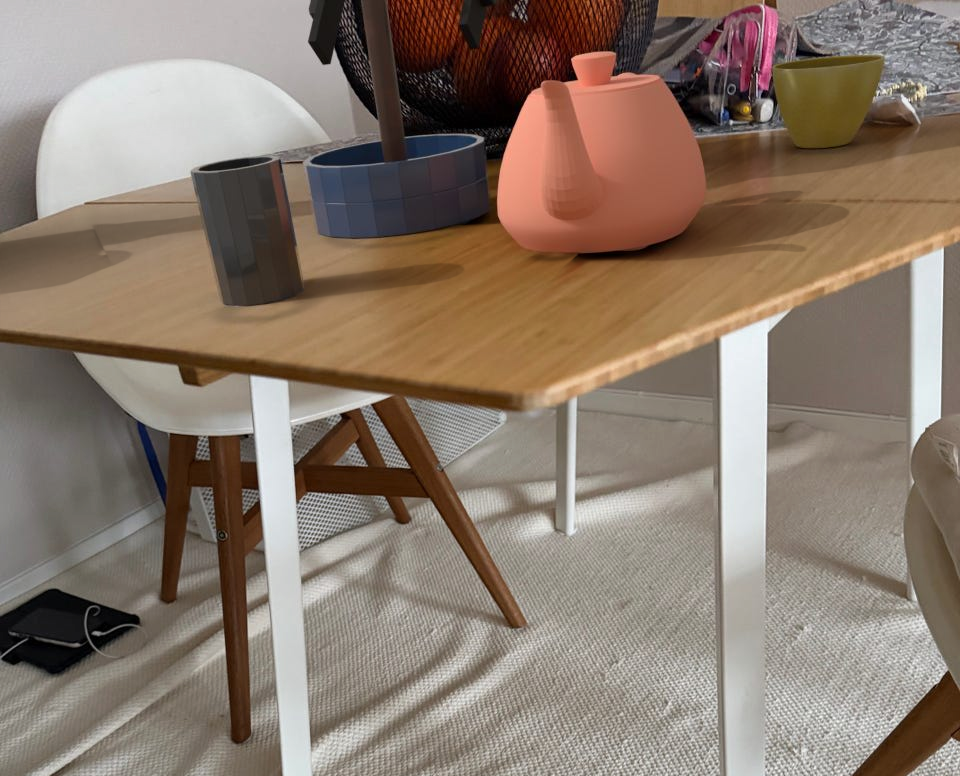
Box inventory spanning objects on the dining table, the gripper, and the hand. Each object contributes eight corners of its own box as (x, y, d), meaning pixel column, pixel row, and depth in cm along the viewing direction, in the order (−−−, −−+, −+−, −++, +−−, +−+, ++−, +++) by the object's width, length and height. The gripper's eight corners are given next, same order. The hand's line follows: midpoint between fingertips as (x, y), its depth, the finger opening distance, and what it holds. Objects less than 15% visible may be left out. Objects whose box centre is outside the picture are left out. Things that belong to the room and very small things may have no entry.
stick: (388, 220, 94) (348, -54, 83) (398, 214, 95) (360, -55, 85) (409, 219, 93) (371, -57, 83) (418, 214, 95) (383, -58, 84)
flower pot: (869, 131, 109) (875, 50, 105) (887, 147, 101) (894, 59, 97) (765, 141, 111) (768, 62, 107) (774, 157, 102) (777, 72, 99)
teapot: (672, 279, 69) (668, 61, 63) (452, 284, 74) (428, 84, 68) (727, 205, 86) (728, 28, 80) (545, 213, 92) (533, 48, 85)
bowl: (285, 248, 91) (270, 171, 88) (363, 209, 103) (353, 140, 100) (452, 242, 86) (442, 160, 83) (515, 202, 98) (508, 129, 95)
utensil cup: (206, 315, 75) (173, 174, 70) (250, 291, 79) (221, 158, 74) (280, 314, 73) (250, 169, 68) (320, 290, 77) (295, 153, 72)
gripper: (589, -156, 92) (549, 64, 88) (330, -112, 101) (283, 89, 97) (566, -242, 85) (521, -8, 81) (290, -187, 94) (238, 27, 90)
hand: (391, 45), depth 89 cm, fingers open, 13 cm apart
